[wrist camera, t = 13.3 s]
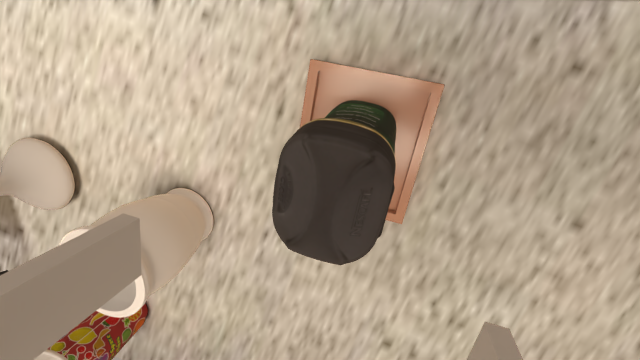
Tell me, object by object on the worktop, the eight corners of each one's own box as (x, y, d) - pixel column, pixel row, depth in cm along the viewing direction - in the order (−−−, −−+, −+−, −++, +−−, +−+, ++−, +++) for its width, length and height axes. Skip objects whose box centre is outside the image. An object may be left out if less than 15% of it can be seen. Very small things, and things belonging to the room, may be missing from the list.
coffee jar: (332, 93, 35) (272, 113, 18) (403, 108, 34) (413, 145, 17) (317, 174, 38) (255, 255, 21) (381, 190, 37) (370, 290, 20)
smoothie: (152, 332, 56) (32, 460, 37) (112, 313, 56) (-25, 429, 38) (157, 297, 53) (29, 418, 34) (114, 278, 53) (-33, 386, 35)
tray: (442, 84, 33) (444, 84, 31) (401, 217, 38) (401, 224, 37) (314, 59, 35) (310, 59, 33) (293, 189, 41) (289, 194, 39)
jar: (233, 236, 45) (161, 309, 31) (179, 253, 48) (93, 325, 35) (199, 170, 43) (105, 216, 29) (144, 192, 46) (37, 243, 32)
